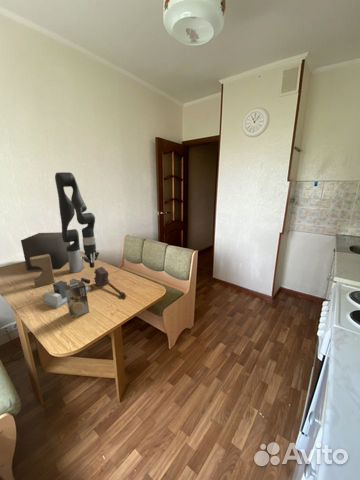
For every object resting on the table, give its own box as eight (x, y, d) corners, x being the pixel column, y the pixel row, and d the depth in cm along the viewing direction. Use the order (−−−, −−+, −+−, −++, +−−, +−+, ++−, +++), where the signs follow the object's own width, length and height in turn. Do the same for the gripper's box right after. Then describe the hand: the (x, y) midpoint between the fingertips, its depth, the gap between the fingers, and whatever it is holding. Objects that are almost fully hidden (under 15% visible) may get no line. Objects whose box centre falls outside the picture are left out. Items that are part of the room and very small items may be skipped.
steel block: (63, 294, 122) (60, 280, 120) (68, 295, 120) (66, 282, 118) (55, 298, 118) (52, 284, 116) (61, 299, 116) (58, 285, 114)
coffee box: (86, 306, 112) (83, 280, 108) (89, 312, 107) (85, 285, 103) (68, 312, 107) (64, 285, 103) (70, 318, 102) (65, 290, 98)
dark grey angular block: (44, 259, 185) (39, 232, 178) (72, 258, 187) (68, 232, 181) (27, 270, 161) (20, 240, 154) (60, 268, 163) (55, 239, 157)
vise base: (77, 285, 136) (76, 276, 134) (90, 289, 131) (89, 280, 129) (43, 303, 115) (41, 293, 114) (57, 308, 111) (55, 297, 109)
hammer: (103, 278, 144) (102, 266, 140) (129, 302, 125) (130, 289, 121) (93, 281, 139) (93, 269, 135) (120, 307, 120) (120, 294, 116)
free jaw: (80, 282, 137) (80, 275, 136) (92, 285, 133) (91, 278, 131) (69, 287, 130) (68, 280, 128) (81, 291, 125) (80, 284, 124)
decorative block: (35, 287, 133) (29, 259, 127) (34, 284, 137) (29, 257, 132) (55, 282, 140) (50, 255, 134) (53, 280, 144) (48, 253, 139)
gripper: (85, 246, 126) (88, 271, 130) (101, 241, 137) (103, 265, 142) (76, 245, 129) (80, 270, 133) (93, 240, 140) (95, 263, 145)
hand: (92, 267), depth 137 cm, fingers closed
